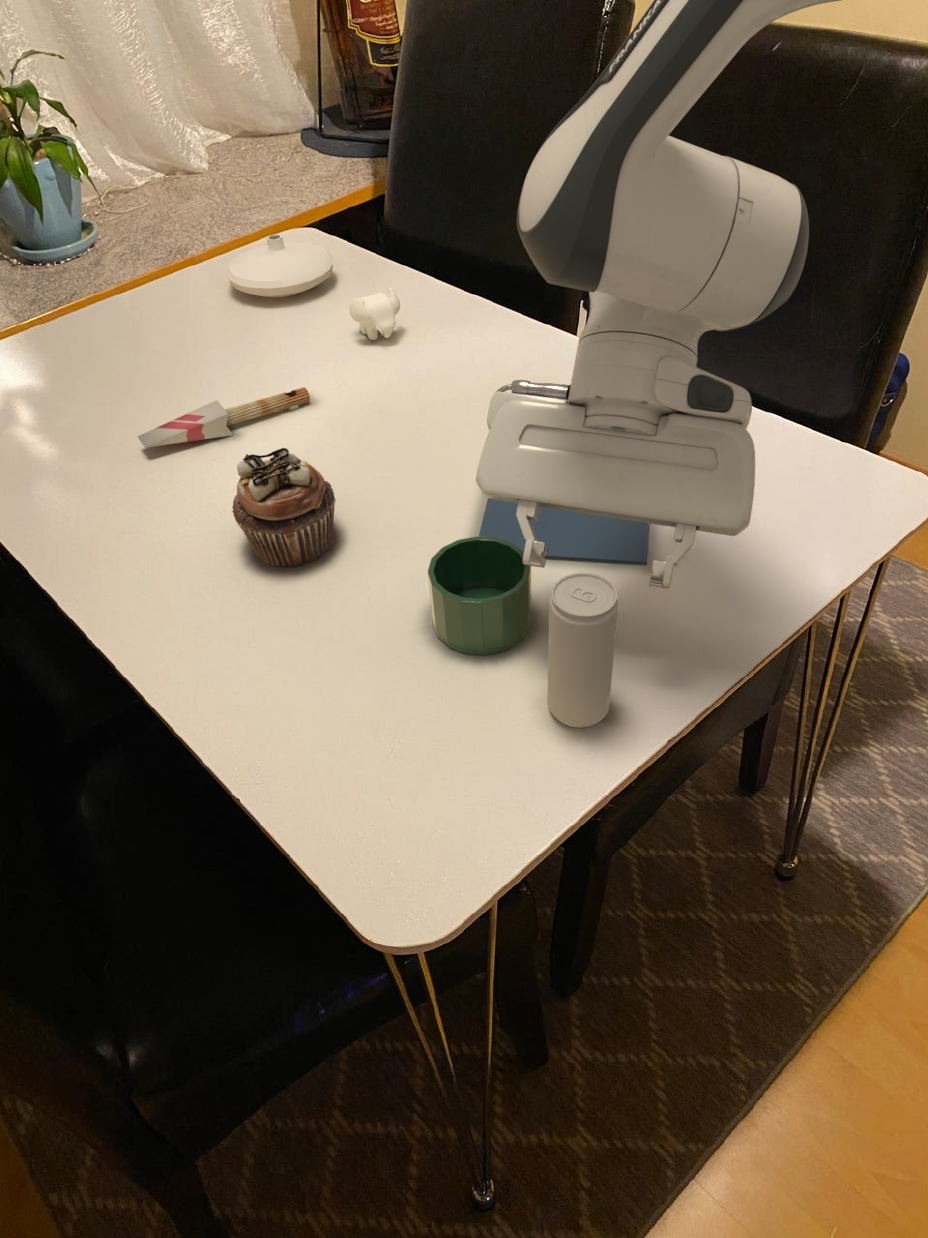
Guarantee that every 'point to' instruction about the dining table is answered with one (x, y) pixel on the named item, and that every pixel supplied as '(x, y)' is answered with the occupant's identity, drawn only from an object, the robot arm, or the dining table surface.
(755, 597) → the dining table surface
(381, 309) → the elephant figurine
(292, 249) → the vase
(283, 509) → the cupcake
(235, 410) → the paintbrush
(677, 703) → the dining table surface
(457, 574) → the green round pot
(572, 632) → the beverage can
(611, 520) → the mat
